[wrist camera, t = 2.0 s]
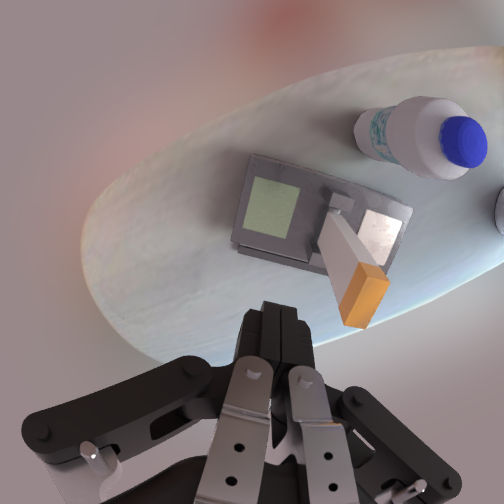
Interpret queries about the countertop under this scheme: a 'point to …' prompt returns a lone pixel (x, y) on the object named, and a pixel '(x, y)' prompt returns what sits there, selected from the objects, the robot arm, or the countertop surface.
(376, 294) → the lever
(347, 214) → the switch box
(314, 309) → the countertop surface
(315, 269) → the dark grey bar
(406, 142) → the bottle
